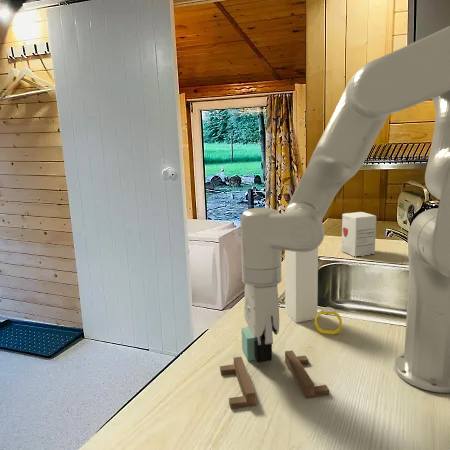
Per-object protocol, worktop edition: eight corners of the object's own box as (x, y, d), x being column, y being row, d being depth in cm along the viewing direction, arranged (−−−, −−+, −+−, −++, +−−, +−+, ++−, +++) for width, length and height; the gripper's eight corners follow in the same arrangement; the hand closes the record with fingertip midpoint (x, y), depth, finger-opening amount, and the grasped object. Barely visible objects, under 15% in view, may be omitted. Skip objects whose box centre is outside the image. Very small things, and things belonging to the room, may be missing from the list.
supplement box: (340, 251, 160) (341, 213, 156) (360, 248, 162) (361, 211, 159) (354, 257, 151) (356, 217, 148) (375, 254, 154) (377, 215, 151)
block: (264, 346, 91) (263, 325, 90) (270, 357, 87) (270, 335, 85) (242, 349, 90) (241, 327, 89) (247, 361, 86) (246, 338, 85)
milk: (317, 319, 104) (319, 233, 99) (295, 323, 102) (296, 236, 97) (305, 309, 109) (306, 228, 104) (284, 313, 107) (284, 230, 103)
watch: (340, 332, 97) (343, 309, 95) (340, 338, 94) (342, 314, 93) (314, 328, 99) (317, 305, 97) (313, 333, 96) (315, 309, 95)
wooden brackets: (305, 359, 85) (305, 348, 85) (329, 395, 74) (329, 382, 73) (220, 370, 83) (219, 359, 82) (230, 408, 71) (230, 395, 70)
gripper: (235, 263, 86) (237, 343, 90) (251, 288, 72) (253, 383, 76) (270, 260, 87) (271, 339, 91) (293, 284, 73) (293, 378, 77)
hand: (263, 359), depth 83 cm, fingers closed
